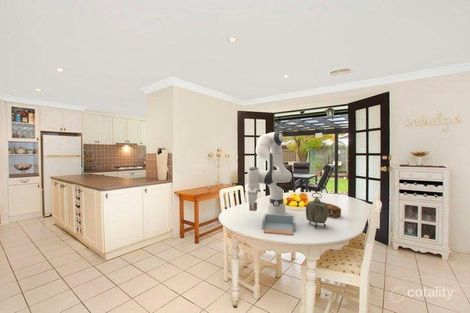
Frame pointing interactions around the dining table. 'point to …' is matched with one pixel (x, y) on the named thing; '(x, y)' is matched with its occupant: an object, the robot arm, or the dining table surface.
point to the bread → (333, 211)
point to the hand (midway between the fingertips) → (253, 207)
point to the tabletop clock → (316, 211)
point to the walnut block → (254, 207)
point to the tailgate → (278, 231)
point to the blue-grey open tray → (278, 222)
